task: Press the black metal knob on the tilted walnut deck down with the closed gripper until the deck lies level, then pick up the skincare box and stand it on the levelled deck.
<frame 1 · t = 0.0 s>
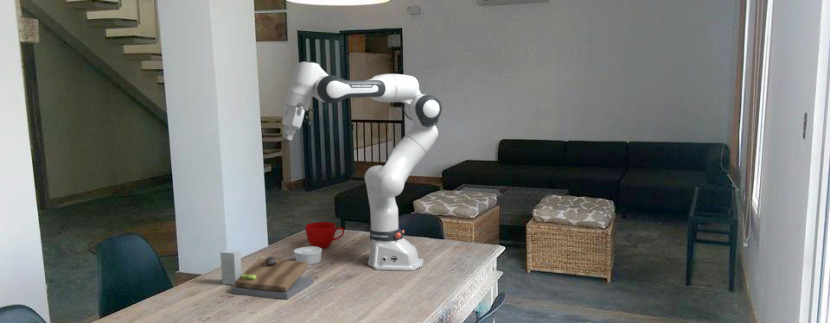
hand: (286, 138, 232), 52 cm above the table, tool tilted 20°, fingers open, 8 cm apart
ramekin: (308, 262, 255), on the table
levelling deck: (271, 272, 221), point 6 cm above the table, hinge at -15.0°
grey rectangular slab: (273, 288, 223), on the table
skincare box: (232, 283, 230), on the table
ceramic cup: (325, 247, 278), on the table
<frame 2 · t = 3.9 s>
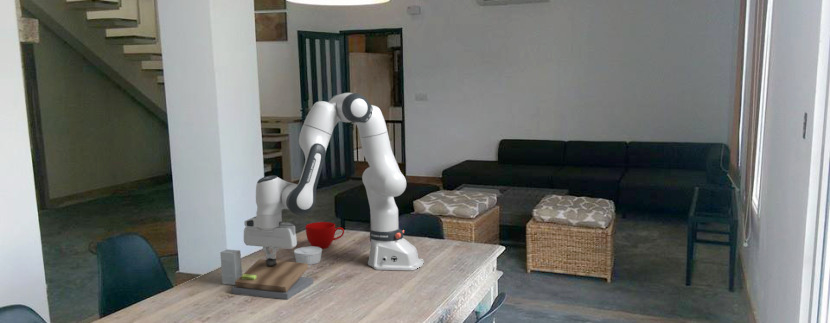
hand: (270, 258, 227), 9 cm above the table, tool pointing down, fingers closed, pressing on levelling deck
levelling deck: (271, 272, 221), point 6 cm above the table, hinge at -13.5°, touching gripper
everything else where it was.
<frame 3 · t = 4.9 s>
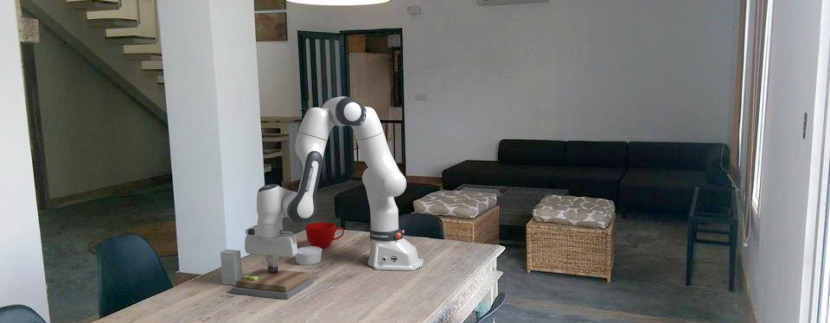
hand: (272, 266, 228), 6 cm above the table, tool pointing down, fingers closed, pressing on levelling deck
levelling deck: (272, 276, 222), point 4 cm above the table, hinge at 0.0°, touching gripper
everything else where it was.
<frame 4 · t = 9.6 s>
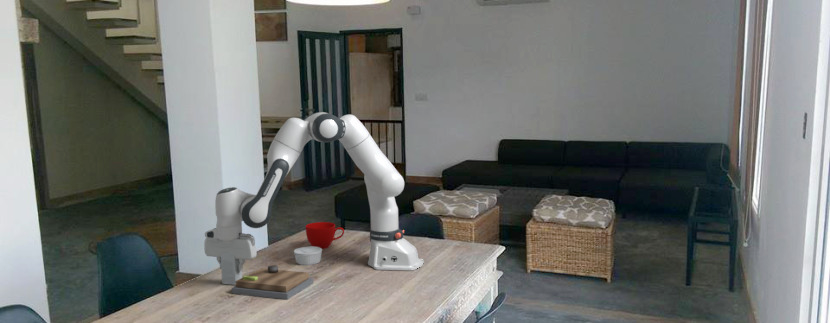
hand: (231, 269, 229), 5 cm above the table, tool pointing down, fingers closed on skincare box, 6 cm apart
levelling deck: (272, 276, 222), point 4 cm above the table, hinge at 0.0°
skincare box: (232, 283, 230), on the table, touching gripper
everything else where it was.
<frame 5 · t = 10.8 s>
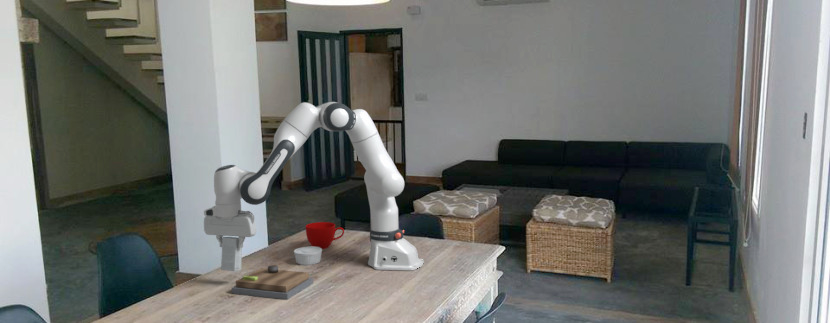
hand: (231, 247, 228), 13 cm above the table, tool pointing down, fingers closed on skincare box, 6 cm apart
skincare box: (231, 270, 228), point 5 cm above the table, touching gripper
everything else where it was.
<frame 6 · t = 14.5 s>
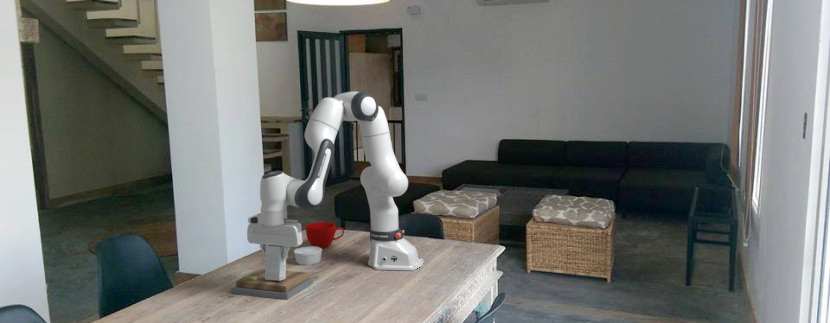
hand: (275, 257, 218), 12 cm above the table, tool pointing down, fingers closed on skincare box, 6 cm apart
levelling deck: (272, 276, 222), point 4 cm above the table, hinge at 0.1°, touching skincare box
skincare box: (275, 280, 219), point 4 cm above the table, touching gripper, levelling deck
everything else where it was.
when the fingers open (11 cm above the table, at t = 15.3 s): skincare box stays where it is, resting on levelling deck.
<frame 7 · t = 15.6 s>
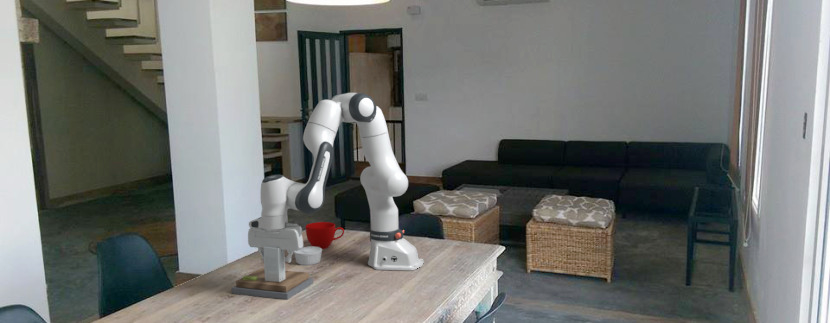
hand: (276, 260, 219), 11 cm above the table, tool pointing down, fingers open, 8 cm apart
skincare box: (275, 280, 219), point 4 cm above the table, touching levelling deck
everything else where it was.
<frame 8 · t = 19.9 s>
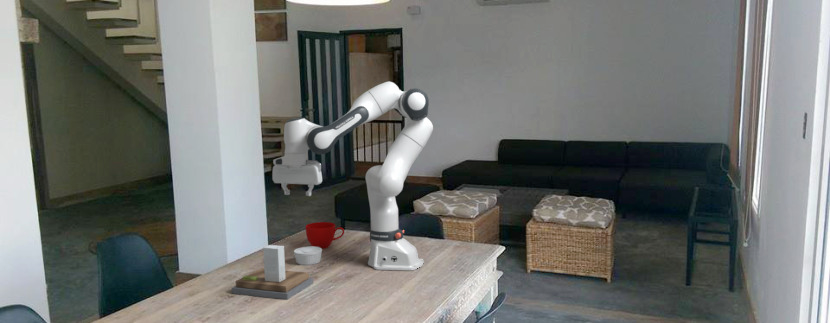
hand: (297, 195, 244), 29 cm above the table, tool pointing down, fingers open, 8 cm apart
nothing on the table moved.
at the end: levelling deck at +0° (first picture: -15°); skincare box inside the target area (1.1 cm from its centre), point 4.0 cm above the table; skincare box tilted 0° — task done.
